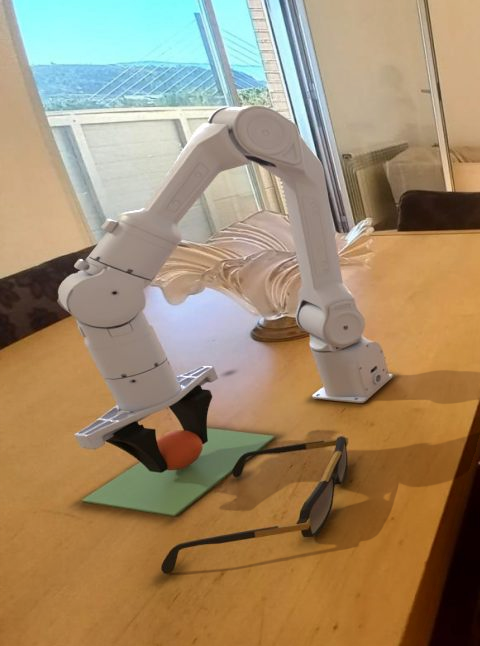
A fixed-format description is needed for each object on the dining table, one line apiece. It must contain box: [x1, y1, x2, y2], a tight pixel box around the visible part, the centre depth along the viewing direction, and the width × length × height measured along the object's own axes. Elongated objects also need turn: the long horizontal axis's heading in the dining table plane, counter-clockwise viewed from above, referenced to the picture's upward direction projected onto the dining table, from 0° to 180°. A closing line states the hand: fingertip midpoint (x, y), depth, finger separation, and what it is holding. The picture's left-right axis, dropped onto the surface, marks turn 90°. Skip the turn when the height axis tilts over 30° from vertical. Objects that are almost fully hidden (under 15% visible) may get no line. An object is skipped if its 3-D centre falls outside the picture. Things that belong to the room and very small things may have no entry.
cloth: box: [81, 427, 276, 517], centre depth 63 cm, size 14×14×1 cm
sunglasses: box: [160, 435, 349, 575], centre depth 55 cm, size 14×15×5 cm
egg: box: [156, 429, 203, 470], centre depth 62 cm, size 5×5×5 cm
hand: (180, 455), depth 62 cm, fingers closed on egg, 5 cm apart
